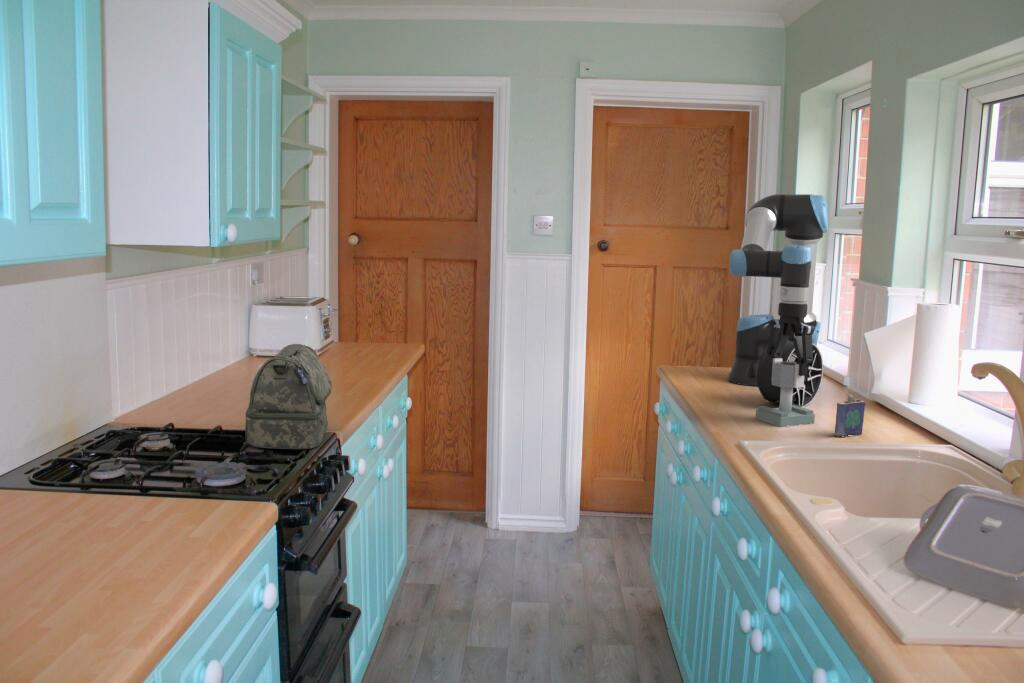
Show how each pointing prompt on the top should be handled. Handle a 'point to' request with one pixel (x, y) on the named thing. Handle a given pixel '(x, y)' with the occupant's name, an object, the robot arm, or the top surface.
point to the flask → (849, 417)
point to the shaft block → (785, 411)
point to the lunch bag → (289, 401)
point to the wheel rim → (799, 394)
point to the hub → (783, 374)
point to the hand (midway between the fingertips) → (787, 384)
